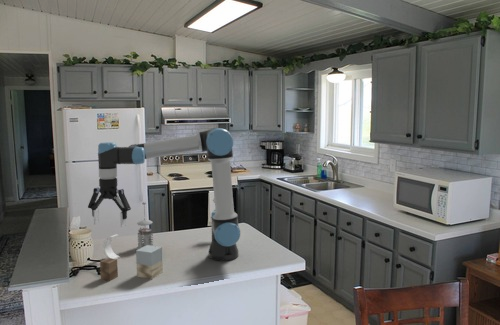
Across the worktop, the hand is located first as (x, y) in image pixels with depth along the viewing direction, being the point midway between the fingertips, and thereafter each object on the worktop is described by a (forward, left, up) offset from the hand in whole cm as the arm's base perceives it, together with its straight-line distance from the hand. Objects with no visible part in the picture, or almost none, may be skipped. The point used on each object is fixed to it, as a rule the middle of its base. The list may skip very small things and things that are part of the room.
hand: (109, 225), depth 181 cm
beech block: (-17, -5, -22) cm, 28 cm away
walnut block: (-3, +5, -22) cm, 23 cm away
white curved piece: (+13, -15, -22) cm, 30 cm away
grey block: (-17, -5, -16) cm, 24 cm away
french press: (+7, -34, -22) cm, 41 cm away
